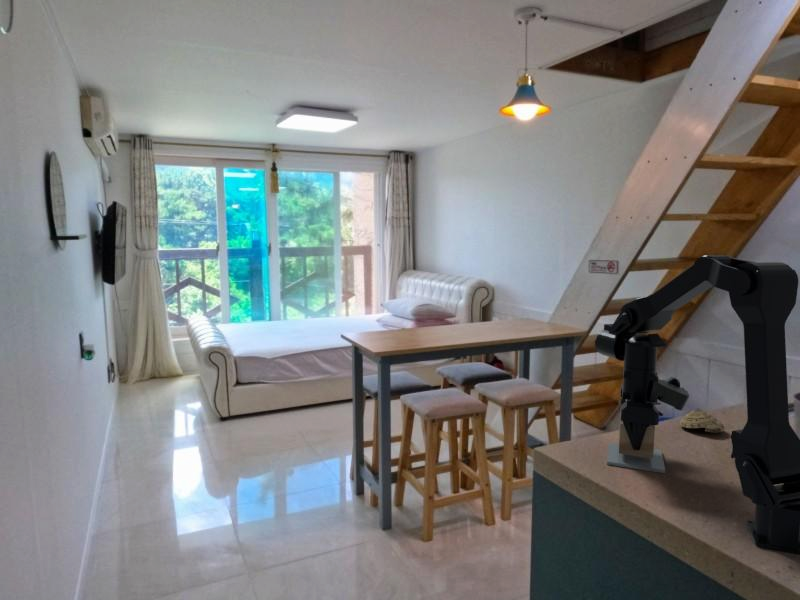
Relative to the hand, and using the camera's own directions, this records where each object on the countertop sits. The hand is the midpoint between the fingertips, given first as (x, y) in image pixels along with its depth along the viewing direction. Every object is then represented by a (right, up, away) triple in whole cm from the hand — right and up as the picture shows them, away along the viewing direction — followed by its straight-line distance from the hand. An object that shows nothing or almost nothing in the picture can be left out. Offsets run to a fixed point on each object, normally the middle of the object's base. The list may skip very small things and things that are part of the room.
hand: (635, 443), depth 102 cm
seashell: (+25, -2, +13) cm, 28 cm away
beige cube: (0, -1, 0) cm, 1 cm away
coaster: (0, -3, 0) cm, 3 cm away
